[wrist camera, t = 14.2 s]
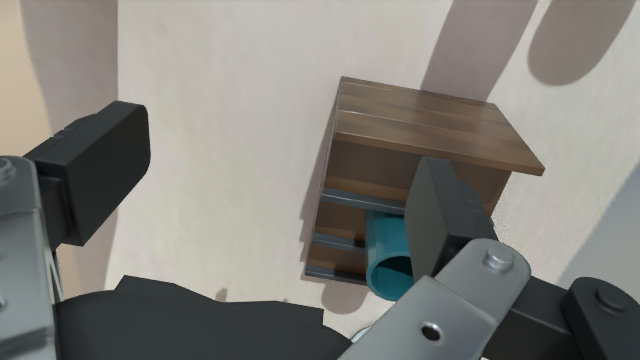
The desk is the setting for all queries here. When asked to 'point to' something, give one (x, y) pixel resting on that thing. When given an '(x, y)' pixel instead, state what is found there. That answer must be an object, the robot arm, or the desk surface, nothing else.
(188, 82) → the desk surface
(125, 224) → the desk surface
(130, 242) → the desk surface
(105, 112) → the robot arm
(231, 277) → the desk surface
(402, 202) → the shelf rack
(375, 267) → the cup
